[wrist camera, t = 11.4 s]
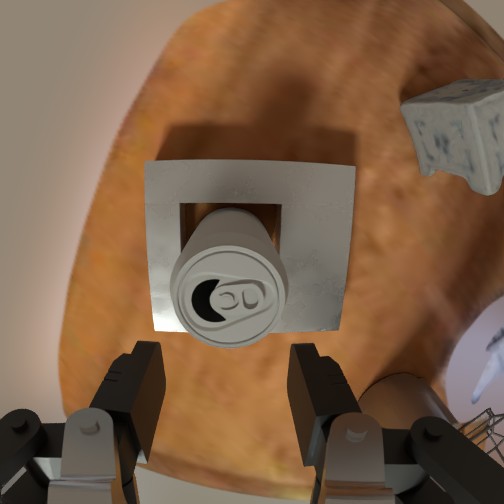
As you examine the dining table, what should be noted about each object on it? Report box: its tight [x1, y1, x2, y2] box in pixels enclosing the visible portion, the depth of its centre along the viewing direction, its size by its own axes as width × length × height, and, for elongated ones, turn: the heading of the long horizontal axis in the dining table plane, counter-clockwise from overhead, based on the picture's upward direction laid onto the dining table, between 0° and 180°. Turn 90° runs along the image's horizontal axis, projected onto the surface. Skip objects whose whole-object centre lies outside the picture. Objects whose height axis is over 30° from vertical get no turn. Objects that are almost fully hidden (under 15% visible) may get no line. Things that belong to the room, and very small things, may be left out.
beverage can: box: [170, 207, 289, 348], centre depth 21 cm, size 6×6×12 cm
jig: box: [145, 160, 356, 333], centre depth 25 cm, size 16×14×3 cm
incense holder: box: [400, 79, 504, 196], centre depth 20 cm, size 10×8×10 cm
